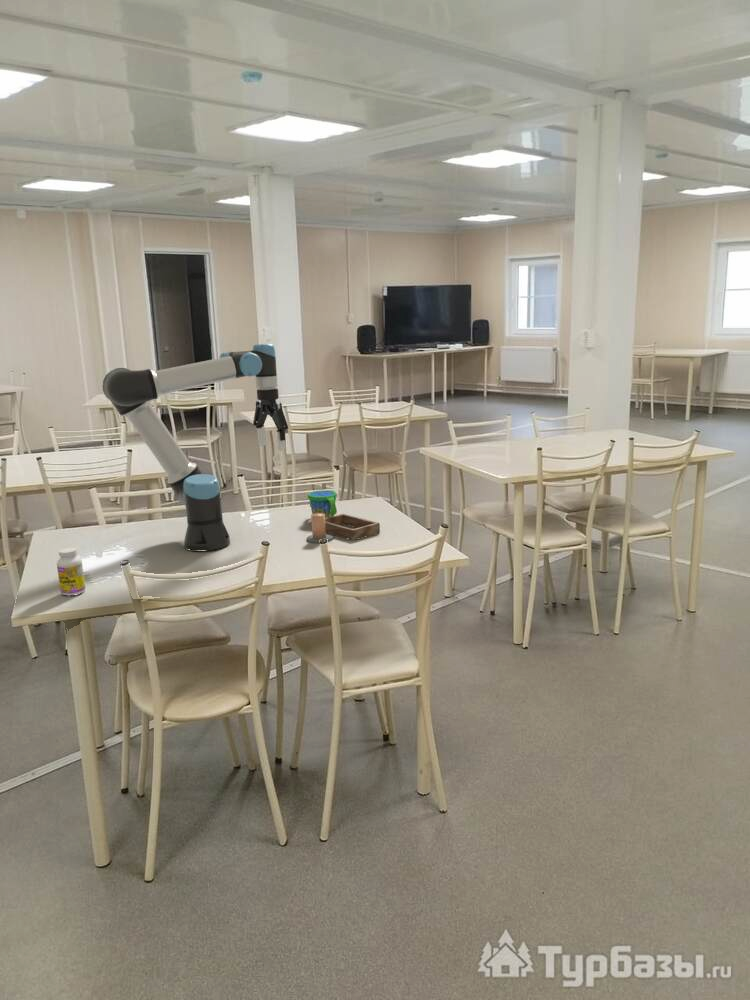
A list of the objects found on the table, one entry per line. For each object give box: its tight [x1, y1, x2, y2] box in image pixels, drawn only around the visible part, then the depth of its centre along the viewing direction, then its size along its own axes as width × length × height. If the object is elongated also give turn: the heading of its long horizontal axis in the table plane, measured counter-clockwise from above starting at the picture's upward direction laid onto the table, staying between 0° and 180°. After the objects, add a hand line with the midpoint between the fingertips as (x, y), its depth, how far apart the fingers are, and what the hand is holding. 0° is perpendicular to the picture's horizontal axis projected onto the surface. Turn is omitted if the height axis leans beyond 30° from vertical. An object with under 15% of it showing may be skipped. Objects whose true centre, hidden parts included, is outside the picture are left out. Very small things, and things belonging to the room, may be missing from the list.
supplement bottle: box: [56, 547, 86, 596], centre depth 218 cm, size 7×7×13 cm
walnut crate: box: [325, 513, 381, 541], centre depth 269 cm, size 12×20×4 cm, turn 42°
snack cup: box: [307, 489, 338, 518], centre depth 284 cm, size 16×10×10 cm
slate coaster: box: [306, 533, 334, 544], centre depth 261 cm, size 9×9×1 cm
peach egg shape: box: [310, 513, 327, 539], centre depth 260 cm, size 5×5×8 cm
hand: (272, 447), depth 277 cm, fingers open, 13 cm apart
